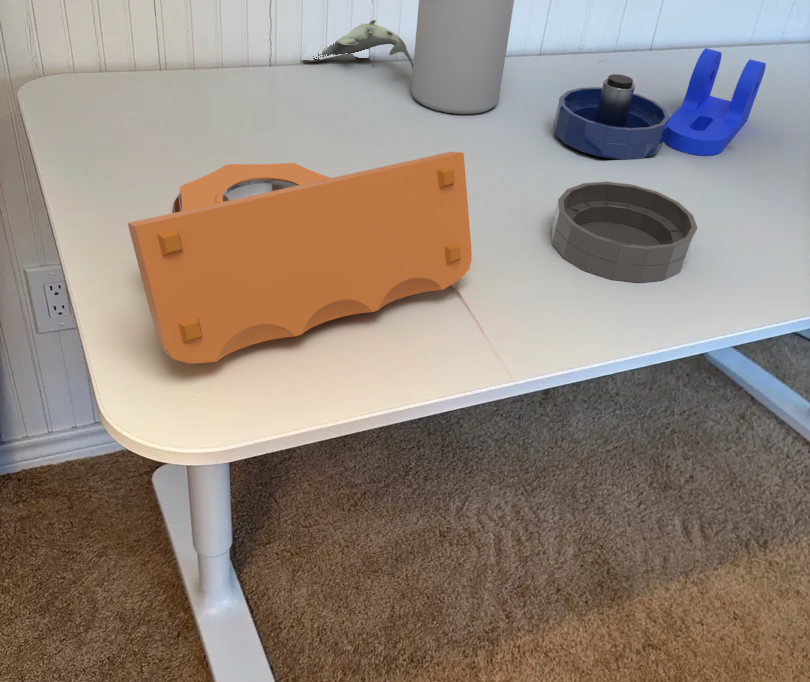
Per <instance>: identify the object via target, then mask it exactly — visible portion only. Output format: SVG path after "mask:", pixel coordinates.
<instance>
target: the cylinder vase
mask: <svg viewBox="0 0 810 682" xmlns="http://www.w3.org/2000/svg"><path fill="white" fill-rule="evenodd" d="M417 5H418V7H417V17H416V18H417V19H416V29H415V30H416V31H415V41H414V42H415V44H414V52H413V53H414V54H413V69H412V78H411V95H412V96H413V98H414V99H415V100H416V101H417V103H418V102H419V104H421V105H423V106H424V107H426V108H429V109H430V110H434V111H436V112H437V111H438V112H442V113H447V114H452V115H453V114H454V115H474V114H481V113H485V112H487V111H489V110H491V109H493V108H495V107H496V105H497V104H498V103H499V101H500V94H501V87H502V83H503V82H502V81H503V75H504V69H505V63H506V56H507V50H508V49H507V48H508V43H509V37H510V36H509V35H510V30H511V23H512V18H513V17H512V16H513V11H514V5H515V0H418V4H417Z"/></svg>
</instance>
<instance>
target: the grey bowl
mask: <svg viewBox="0 0 810 682" xmlns="http://www.w3.org/2000/svg"><path fill="white" fill-rule="evenodd" d="M556 202H557V203H556V207H555V212H554V217H553V221H552V226H551V231H550V235H551V237H550V238H551V245H552V247H553V248H554V249H555V250H556V251H557V252H558V254H559V255H560V256H561V258H562V259H564V260H565V261H567V262H568V263H570V264H571V265H573V266H574V267H575V266H576V267H577V268H578V269H580V270H582V271H584V272H586V273H590V274H592V275H596V276H598V277H602V278H605V279H608V280H612V281H618V282H619V281H620V282H627V283H628V282H629V283H635V284H641V283H642V284H643V283H650V282H651V283H652V282H661V281H664V280H667V279H669V278H671V277H673V276H675V275H678V274H679V273H681V271H682V270H683V268H684V266H685V264H686V262H687V259H688V257H689V254H690V251H691V248H692V245H693V243H694V240H695V236H696V234H697V231H698V225H697V223H696V220H695V217H694V215H693V213H691V212H690V210H688V209H687V208H686V207H685V206H683V204H681V203H680V202H679V201H677V200H675V199H673V198H671V197H669V196H667V195H665V194H663V193H661V192H659V191H656V190H653V189H650V188H646V187H643V186H640V185H635V184H630V183H624V182H623V183H622V182H615V181H596V182H595V181H594V182H583V183H580V184H578V185H577V184H576V185H575V186H573V187H569V188H567V189H566V190H565V191H564V192H563V193H562V194H561V196H560V197H559V198H558V199H557V201H556Z"/></svg>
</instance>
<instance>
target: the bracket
mask: <svg viewBox="0 0 810 682" xmlns="http://www.w3.org/2000/svg"><path fill="white" fill-rule="evenodd" d="M722 54H723V53H722V51H718V50H715V49H710V48H704V49H703V50H702V52H701V53H700V55H699V56H698V58H697V61H696V63H695V65H694V68H693V70H692V73H691V75H690V79H689V83H688V86H687V89H686V93H685V96H684V97H683V98H684V99H683V101H682V102H681V105H680V107H679V108H678V109H677V110H676V111H675V112H673V114H672V115H670V116H669V117H670V119H669V122H668V126H667V129H666V132H665V136H664V139H663V143H664V144H666V145H667V146H668V147H669V148H671V149H674V150H676V151H679V152H681V153H685V154H689V155H693V156H701V157H702V156H704V157H706V156H707V157H711V156H716V155H720V154H721V153H723V151H724V150H725V149H726V148H727V146H728V145H729V144H730V143H731V142H732V140H733V139H734V138H735V136H736V135H737V134H738V133H739V132H740V131H741V129H742V128H743V127H744V126H745V124H747V122H748V120H749V118H750V114H751V111H752V109H753V106H754V103H755V100H756V98H757V95H758V93H759V90H760V87H761V84H762V80H763V77H764V75H765V71H766V67H767V66H766V65H767V63H766V62H763V61H760V60H754V59H752V58H751V59H750V58H749V59H748V61H747V62H746V64H745V65H744V67H743V68H742V71H741V73H740V76H739V78H738V80H737V82H736V86H735V88H734V90H733V94H732V97H731V100H728V99H724V98H720V97H716V96H713V95H711V94H712V91H713V88H714V84H715V81H716V77H717V75H718V72H719V69H720V65H721V61H722V56H723V55H722Z"/></svg>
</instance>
